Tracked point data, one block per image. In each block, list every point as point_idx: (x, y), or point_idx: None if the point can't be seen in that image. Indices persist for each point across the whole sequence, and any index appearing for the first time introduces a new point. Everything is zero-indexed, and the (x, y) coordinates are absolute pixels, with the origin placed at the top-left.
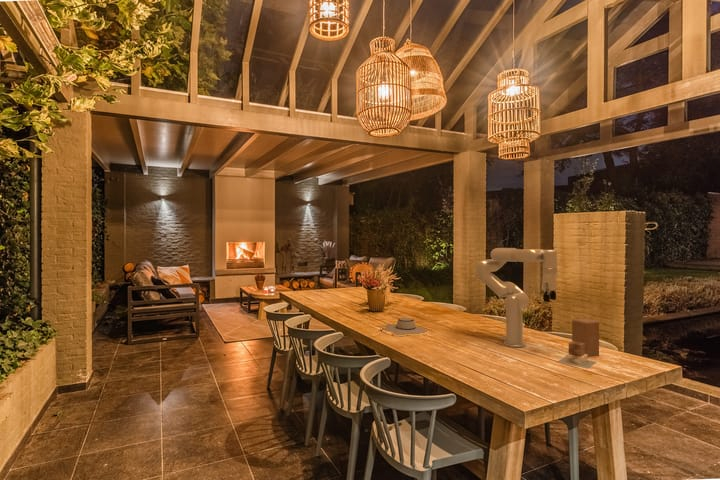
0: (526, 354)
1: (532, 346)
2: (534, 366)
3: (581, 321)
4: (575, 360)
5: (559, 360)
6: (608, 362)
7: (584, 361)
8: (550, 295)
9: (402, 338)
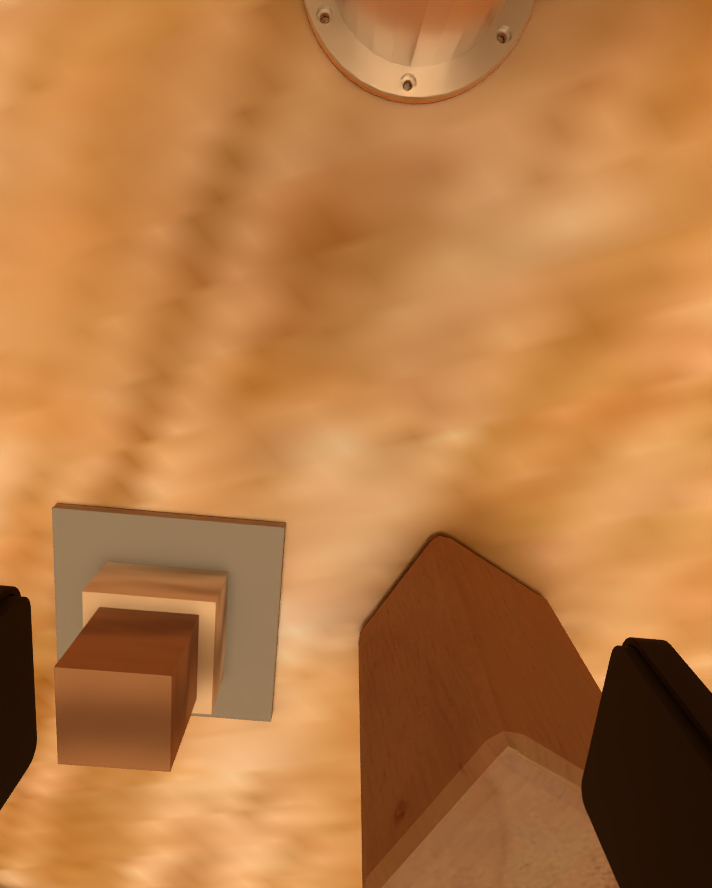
0: (137, 218)
1: (473, 171)
2: None
3: (410, 865)
4: None
5: (110, 514)
6: (353, 762)
7: None
8: (685, 758)
9: None
